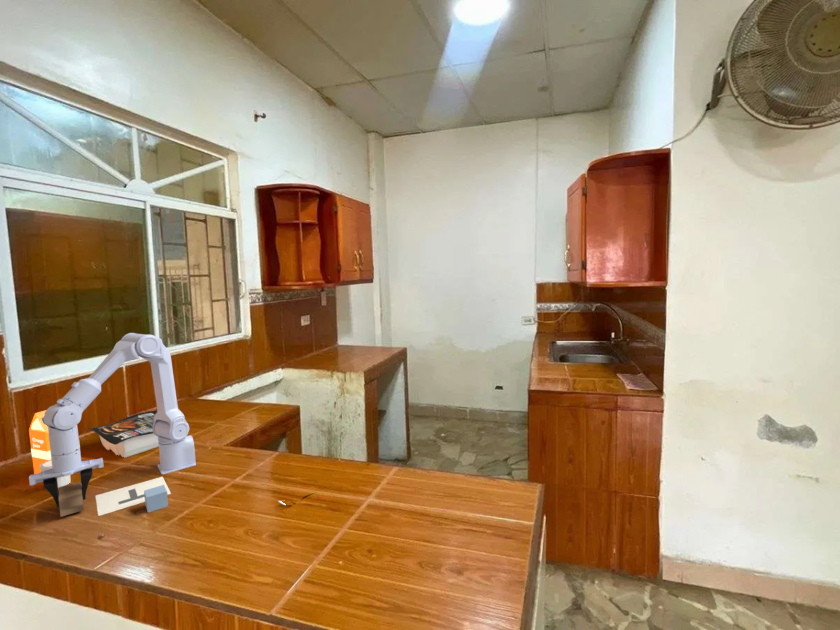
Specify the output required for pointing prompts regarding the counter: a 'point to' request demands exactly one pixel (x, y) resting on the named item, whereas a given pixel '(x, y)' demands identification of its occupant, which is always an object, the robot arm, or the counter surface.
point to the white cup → (61, 480)
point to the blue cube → (156, 498)
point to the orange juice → (39, 441)
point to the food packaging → (129, 434)
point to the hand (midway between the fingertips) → (71, 501)
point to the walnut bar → (70, 499)
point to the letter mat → (126, 496)
